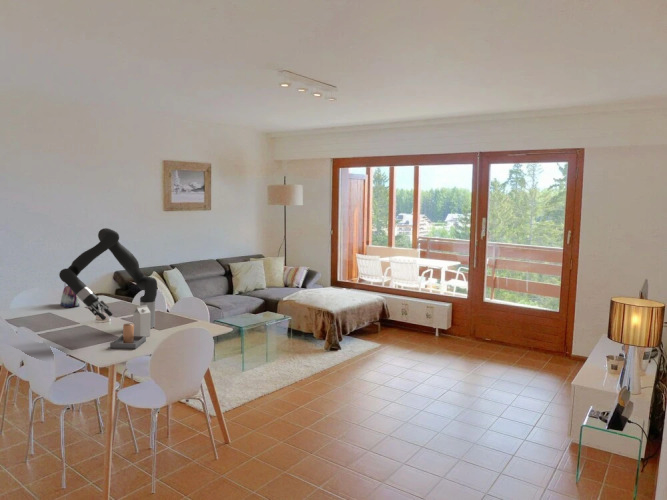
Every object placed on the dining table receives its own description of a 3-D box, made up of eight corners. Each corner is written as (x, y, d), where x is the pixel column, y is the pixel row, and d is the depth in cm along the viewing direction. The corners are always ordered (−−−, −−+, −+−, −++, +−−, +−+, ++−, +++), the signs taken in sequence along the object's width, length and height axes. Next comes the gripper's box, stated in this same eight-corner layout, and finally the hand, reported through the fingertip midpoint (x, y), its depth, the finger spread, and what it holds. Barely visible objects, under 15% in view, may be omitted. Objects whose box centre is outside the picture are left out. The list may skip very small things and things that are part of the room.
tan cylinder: (125, 341, 284) (125, 322, 283) (135, 342, 284) (135, 323, 283) (121, 344, 278) (121, 325, 277) (131, 344, 278) (131, 325, 277)
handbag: (82, 307, 365) (82, 274, 363) (68, 309, 358) (68, 275, 355) (71, 302, 379) (71, 270, 377) (57, 304, 372) (57, 272, 369)
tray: (121, 340, 289) (122, 335, 289) (145, 341, 289) (145, 336, 289) (110, 348, 273) (110, 343, 273) (135, 349, 273) (135, 344, 273)
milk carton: (133, 336, 298) (133, 305, 296) (143, 333, 304) (143, 303, 302) (140, 338, 294) (140, 307, 292) (150, 336, 300) (150, 305, 298)
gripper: (86, 294, 270) (107, 315, 272) (98, 290, 285) (118, 310, 286) (76, 303, 271) (97, 324, 272) (89, 298, 285) (108, 318, 286)
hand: (108, 317), depth 279 cm, fingers open, 8 cm apart
